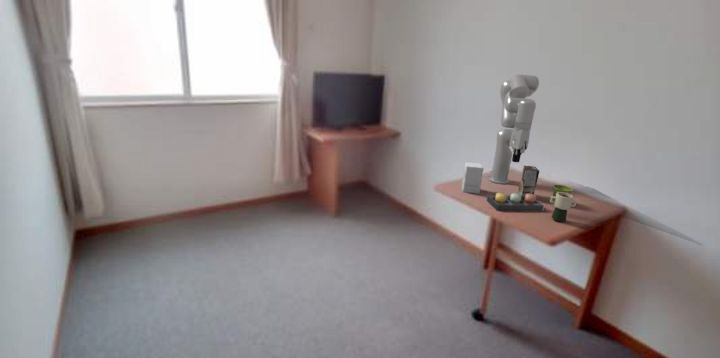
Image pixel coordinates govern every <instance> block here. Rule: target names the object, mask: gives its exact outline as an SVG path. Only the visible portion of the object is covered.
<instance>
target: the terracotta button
mask: <svg viewBox="0 0 720 358" xmlns="http://www.w3.org/2000/svg"><path fill="white" fill-rule="evenodd" d="M535 200H537V195H536V194H535V193H534V194H530V193H527V194H526V196H525V200H524V201H525V202H527V203H535Z"/></svg>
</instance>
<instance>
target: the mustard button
mask: <svg viewBox="0 0 720 358" xmlns="http://www.w3.org/2000/svg"><path fill="white" fill-rule="evenodd" d="M495 196H496V197H495V201H496V202H497V203H505V201H506V196H508V195H507V194H505V193H502V192H496V193H495Z"/></svg>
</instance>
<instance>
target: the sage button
mask: <svg viewBox="0 0 720 358" xmlns="http://www.w3.org/2000/svg"><path fill="white" fill-rule="evenodd" d="M510 196H511V197H510V201H511V202H512V203H520V201H521V197H522V196H521V195H520V194H519V193H518V192H517V193H516V192H512V193H511V194H510Z"/></svg>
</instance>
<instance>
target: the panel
mask: <svg viewBox="0 0 720 358" xmlns="http://www.w3.org/2000/svg"><path fill="white" fill-rule="evenodd" d="M495 197H496V195H487V197H486V202H488V204H490V205H491V206H492V207H493V209H495V210H496V211H497V212H498V211H501V212H503V211H506V212H507V211H511V212H512V211H513V212H528V211H529V212H543V211H544V204H542V203H541V202H539V201H538V200H537V199H536V200H535V203H527V202H525V201H524V200H525V196H522V197H521V201H520V203H512V202H511V201H510V197H511V195H507V196H506V201H505V203H497V202H496V201H495Z"/></svg>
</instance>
